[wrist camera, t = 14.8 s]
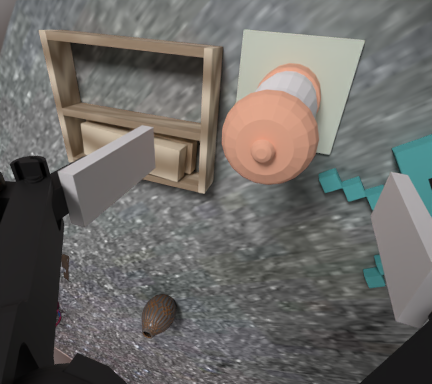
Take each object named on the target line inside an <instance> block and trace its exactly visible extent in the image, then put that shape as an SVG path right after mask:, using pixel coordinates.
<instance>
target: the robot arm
mask: <svg viewBox="0 0 432 384" xmlns="http://www.w3.org/2000/svg"><path fill="white" fill-rule="evenodd" d="M10 166H11V169H12V171H13V174H14V177H15V180H16V182H10V181H5V180H4V178H3V175H2V173H1V172H0V384H127V383H126V382H125V381H124V380H123V379H122V378H120V377H119V376H118V375H117V374H116V373H115V372H114V371H113V370H112V369H111V368H110V367H109V366H106V365H104V364H102V363H100V362H97V361H95V360H93V359H90V358H88V357H86V356H83V355H81V354H79V353H77V354H76V356H75V357H74V358H73V360H72V361H71V362H70V363H66V364H55V365H54V359H53V358H54V357H53V354H54V340H55V328H56V316H57V304H58V293H59V281H60V269H61V257H62V245H63V233H64V221H63V217H64V216H65V215H67V214H68V213H69V216H70V220H71V223H72V224H75V225H78V226H82V227H86V226H87V225H89V224H90V223H91V222H92V221H93V220H95V219H96V218H97V217H98V216H99V215H100V214H102V213H103V212H104V211H105V210H106V209H108V208H109V207H110V206H111V205H112V204H113V203H115V202H116V201H117V200H118V199H119V198H121V197H122V196H123V195H124V194H125V193H126V192H128V191H129V190H130V189H131V188H132V187H134V186H135V185H136V184H137V183H138V182H139V181H141V180H142V179H143V178H144V177H145V176H147V175H148V174H149V173H150V172H151V171H152V170H154V169H155V168H156V166H155V147H154V129H153V127H149V126H144V125H142V126H140V127H138V128H136V129H134V130H132V131H131V132H129V133H127V134H125V135H123V136H122V137H120V138H118V139H116V140H114V141H112V142H111V143H109V144H107V145H105V146H103V147H102V148H100V149H98V150H96V151H94V152H92V153H91V154H89V155H86V156H82V157H81V158H79V159H77V160H75V162H74V161H73V162H71V163H70V164H69V165H66V166H64V167H62V168H60V169H59V170H57V171H55V172H53V173H51V174H50V172H49V169H48V165H47V162H46V158H44V157H41V156H27V157H22V158H19V159H16V160H14V161H12V162H11V164H10ZM371 220H372V224H373V228H374V233H375V237H376V241H377V245H378V249H379V253H380V258H381V262H382V266H383V270H384V274H385V278H386V283H387V287H388V291H389V295H390V299H391V303H392V308H393V312H394V316H395V320H396V322H400V323H403V324H406V325H409V326H413V327H416V328H419V329H420V328H421V327H422V326H423V324H424V323H425V322H426V320H427V319H428V318H429V322H427V323H426V324H425V325H424V326H423V327H422V328H421V329H420V330H419V331H417V332H416V333H415V334H414V335H413V336H412V337H411V338H410V339H409V340H407V341H406V342H405V343H404V344H403V345H402V346H401V347H400V348H398V349H397V350H396V351H395V352H394V353H393V354H392V355H391V356H390V357H388V358H387V359H386V360H385V361H384V362H383V363H382V364H381V365H380V366H378V367H377V368H376V369H375V370H374V371H373V372H372V373H371V374H370V375H368V376H367V377H366V378H365V379H364V380H363V381H362V382H361V383H360V384H432V218H431V216H430V214H429V212H428V210H427V209H426V207H425V205H424V203H423V201H422V200H421V198H420V196H419V194H418V192H417V191H416V189H415V187H414V185H413V183H412V182H411V180H410V178H409V176H408V175H405V174H400V173H394V172H390V175H389V177H388V179H387V181H386V183H385V186H384V188H383V190H382V192H381V194H380V197H379V199H378V201H377V203H376V206H375V208H374V210H373V212H372V214H371Z"/></svg>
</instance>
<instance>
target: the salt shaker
mask: <svg viewBox="0 0 432 384" xmlns="http://www.w3.org/2000/svg"><path fill="white" fill-rule="evenodd" d="M320 102H321V89H320V83H319V81H318V79H317V77H316V75H315V74H314V73H313V72H312V71H311V70H310V69H309V68H308V67H305V66H303V65H301V64H294V63H288V64H284V65H280V66H278V67H277V68H275V69H274V70H272V71H271V72H269V73H268V74H267V75H266V76H265V77H264V78H263V80H262V81H261V82H260V83H259V85H258V88H257V90H256V91H255V92H254V93H250V94H249V95H247V96H245V97H244V98H242V99H241V100H239V101H237V103H236V104H235V105H234V106H233V107H232V109H231V110H230V111H229V112H228V114H227V117H226V120H225V122H224V125H223V129H222V146H223V150H224V153H225V157H226V158H227V160H228V161H229V163H230V165H231V166H232V168H233V169H234V170H236V171H237V172H238V173H239V174H240V175H241V176H242V177H244V178H246V179H249V180H251V181H253V182H255V183H261V184H266V185H271V184H281V183H284V182H286V181H289V180H291V179H294V178H295V177H296V176H298V175H299V174H300V173H301V172H303V171H304V170H305V169H306V168H307V167H308V166H309V164H310V162H311V161H312V159H313V158H314V156H315V154H316V151H317V147H318V142H319V133H318V125H317V122H316V120H315V117H316V114H317V112H318V111H319V106H320Z"/></svg>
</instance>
